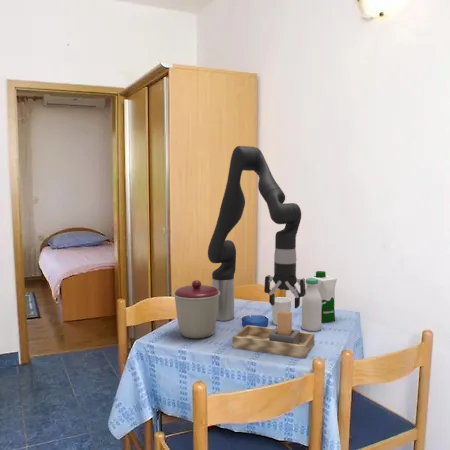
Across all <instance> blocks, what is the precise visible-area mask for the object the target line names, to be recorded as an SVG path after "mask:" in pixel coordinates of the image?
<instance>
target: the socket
mask: <svg viewBox="0 0 450 450" xmlns="http://www.w3.org/2000/svg"><path fill="white" fill-rule="evenodd" d="M300 332H301V330H300V329H296V328H295V329H293V328H292V334H291V336H288V335H280V334H277V327H276V328H274V330H273V331H272V332H271V333H270V334H269V341H276V342H283V343H291V344H298V345H299V344H300Z"/></svg>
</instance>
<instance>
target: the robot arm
mask: <svg viewBox="0 0 450 450" xmlns="http://www.w3.org/2000/svg"><path fill="white" fill-rule="evenodd" d="M228 169H229V170H228V175H227V181H226V184H225V189H224V192H223V193H224V194H223V197H222V200H221V204H220V208H219V213H218V217H217V221H216V224H215V227H214V230H213V233H212V235H211V239H210V241H209V245H208V248H207V258H208V261H210V263H212V264H220V265H219V266H218V268H216V269H214V270H213V271H212V274H211V278H212V279H211V280H212V284H211V285H212V286H211V287H214V288H216V289H217V290H219V291H220V295H219V297H218V308H217V317H216V321H222V322H223V321H232V320H233V319H235V273H236V263H237V262H236V261H237V249H236V245H235V243H234V241H232V240H229V239H228V240H227V237H228V235H229V234H230V233H231V231H232V230H233V229H234V228H235V227H236V226H237V224H238V223H239V222H240V220H241V219H242V216H243V214H244V210H245V206H246V197H245V194H244V191H243V189H242V186H241V180H242V179H241V178H242V173H243V171H248V172H249V171H250V172H251V171H252V172H255V173H256V174H257V177H258V183H257V185H258V186H257V188H258V191H259V193H260V195H261V197H262V198H263V200H264V201H265V203H266V205H267V209H268V213H269V216H270V219H271V221H272V222H274V223H275V224H276V225H284V228H283V229H281V230H277V232H276V233H275V236H274V237H275V239H274V241H275V242H274V243H275V244H274V246H275V247H274V257H273V258H274V259H273V260H274V262H273V263H274V264H273V266H274V267H273V276H271V275H270V274H268V275H266V276H265V278H264V288H263V289H264V293H265V294H268V295H269V296H268V297H269V300H268V302H269V304H270V306H271V307H272V306H273V305H274V304H275V298H276V296H275V295H276V294H275V292H277V290H281V291H283V290H284V291H290V292H291V294H293V296H294V309H298V308H299V307H300V304H301V298H303V296H304V295H305V294H306V278H297V249H296V247H297V245H296V243H297V242H296V241H297V239H296V238H297V235H298V230H299V228H300V224H301V220H302V210H301V207H300V205H298V204H297V203H296V202H293V203H292V202H290V203H286V202H285V201H286V195H285V192H284V191H283V190H282V187H280V186H279V184H278V182H277V181H276V180H275V178H274V175H273V174H272V172H271V169H270V167H269V165H268V163H267V161H266V158H265V156H264V154H263V153H262V151H261V149H260V148H259V147H256V146H249V145H248V146H247V145H237V146H236V147H234V148H233V151H232V154H231V157H230V162H229V168H228ZM272 281H273V283H274V285H273V287H272V288H271V282H272ZM296 284H298V286H299V289H300V290H298V288H297V286H296Z"/></svg>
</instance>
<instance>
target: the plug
mask: <svg viewBox="0 0 450 450" xmlns="http://www.w3.org/2000/svg"><path fill="white" fill-rule="evenodd" d="M292 317H293V312H292V311H290V312H287V311H280V312H279V313H278V314H277V325H276V326H277V334H280V335H288V336H291V334H292V329H293V328H292V327H293V324H292V323H293V322H292V321H293V318H292Z"/></svg>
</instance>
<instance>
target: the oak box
mask: <svg viewBox="0 0 450 450" xmlns="http://www.w3.org/2000/svg"><path fill="white" fill-rule="evenodd" d="M274 329H275V328H274V327H266V326H257V325H249V324H246V325H245V326H243V328H241V329H240V330H239V331H238V332H237V333H235V334H234V335H233V336H232V348H234V349H239V350H247V351H254V352H258V353H259V352H260V353H268V354H273V355H274V354H275V355H282V356H287V357H295V358H301V359H302V358H303V359H305V358H306V357H307V356H308V355H309V352H310V351H311V350H312V348H313V347H314V345H315V333H314V332H307V331H306V332H305V331H300V344H299V345H298V344H291V343H283V342H276V341H269V334H270V333H271V332H272V331H273V330H274Z"/></svg>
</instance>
